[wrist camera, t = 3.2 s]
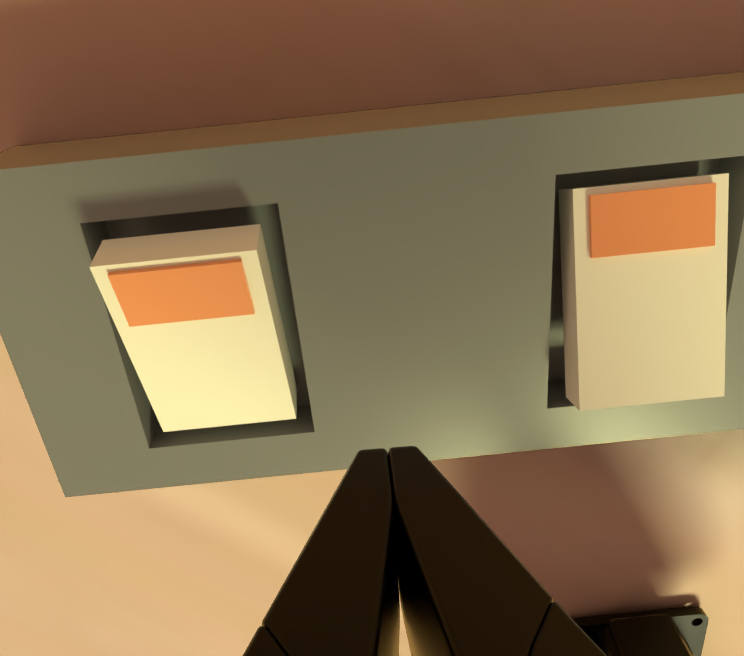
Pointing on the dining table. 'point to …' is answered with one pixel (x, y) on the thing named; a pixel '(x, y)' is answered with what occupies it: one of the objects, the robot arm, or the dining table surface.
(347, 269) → the grey rocker switch panel
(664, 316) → the rocker
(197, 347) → the rocker
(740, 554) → the dining table surface
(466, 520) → the robot arm
